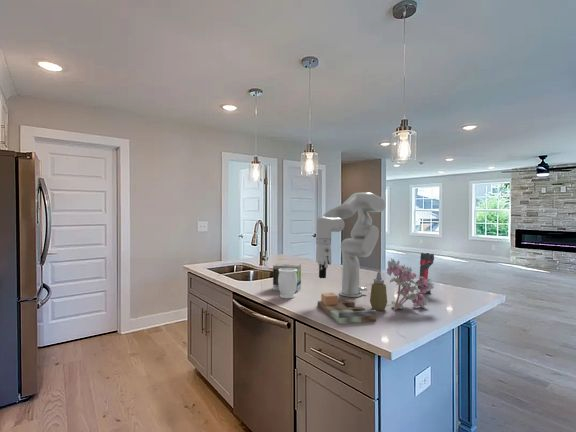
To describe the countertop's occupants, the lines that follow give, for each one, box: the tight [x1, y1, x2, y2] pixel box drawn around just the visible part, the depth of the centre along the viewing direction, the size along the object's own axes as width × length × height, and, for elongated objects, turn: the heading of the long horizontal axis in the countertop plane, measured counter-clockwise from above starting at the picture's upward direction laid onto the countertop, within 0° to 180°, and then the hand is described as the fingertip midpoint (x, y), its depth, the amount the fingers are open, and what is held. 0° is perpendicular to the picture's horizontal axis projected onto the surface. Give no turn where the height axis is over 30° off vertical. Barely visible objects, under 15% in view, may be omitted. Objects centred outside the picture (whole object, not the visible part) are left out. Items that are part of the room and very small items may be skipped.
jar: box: [278, 268, 297, 299], centre depth 176 cm, size 11×10×15 cm
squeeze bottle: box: [369, 271, 388, 312], centre depth 156 cm, size 8×8×18 cm
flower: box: [386, 257, 435, 311], centre depth 158 cm, size 20×22×25 cm
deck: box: [317, 298, 377, 325], centre depth 149 cm, size 17×26×4 cm, turn 15°
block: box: [320, 292, 339, 305], centre depth 157 cm, size 6×6×4 cm
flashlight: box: [417, 252, 435, 294], centre depth 190 cm, size 8×8×23 cm
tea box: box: [272, 263, 302, 293], centre depth 193 cm, size 15×10×15 cm, turn 76°
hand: (322, 277), depth 164 cm, fingers closed
